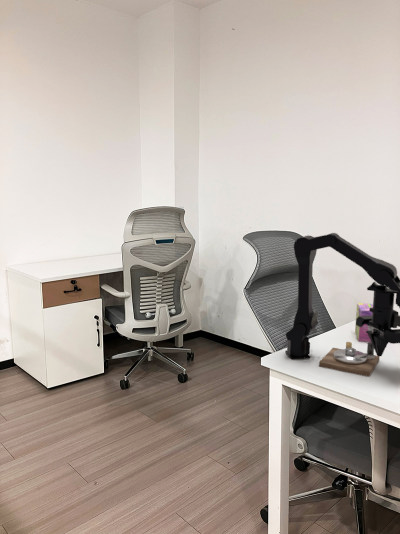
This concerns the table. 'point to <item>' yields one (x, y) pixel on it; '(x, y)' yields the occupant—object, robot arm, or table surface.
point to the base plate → (358, 369)
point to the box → (361, 331)
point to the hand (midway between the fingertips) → (379, 355)
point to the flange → (354, 355)
